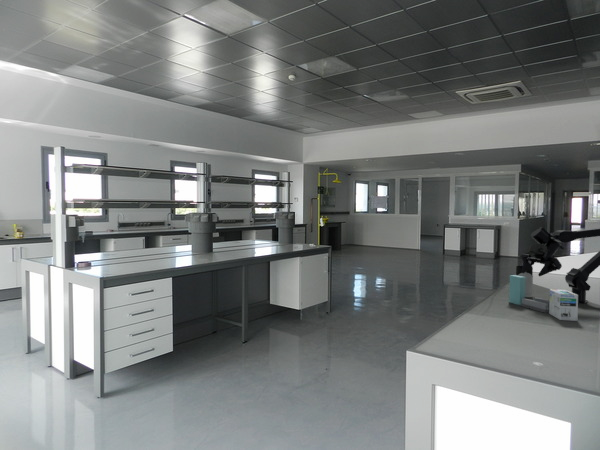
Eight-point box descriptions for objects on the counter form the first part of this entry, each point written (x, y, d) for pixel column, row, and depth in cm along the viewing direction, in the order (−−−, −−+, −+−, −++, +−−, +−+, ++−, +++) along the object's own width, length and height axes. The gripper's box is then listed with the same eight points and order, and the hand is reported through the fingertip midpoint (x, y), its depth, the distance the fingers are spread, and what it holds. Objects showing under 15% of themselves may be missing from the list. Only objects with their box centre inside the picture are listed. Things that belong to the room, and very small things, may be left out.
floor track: (521, 306, 181) (521, 298, 181) (536, 305, 184) (536, 297, 184) (545, 312, 170) (545, 304, 170) (560, 311, 172) (560, 302, 172)
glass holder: (515, 296, 203) (516, 267, 203) (511, 291, 216) (512, 264, 216) (534, 297, 200) (535, 268, 199) (530, 292, 213) (530, 264, 212)
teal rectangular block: (509, 302, 189) (509, 275, 189) (513, 301, 190) (514, 275, 190) (519, 305, 184) (520, 277, 183) (524, 304, 185) (525, 277, 184)
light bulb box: (578, 321, 157) (579, 294, 156) (559, 320, 158) (560, 293, 158) (565, 314, 167) (566, 289, 167) (548, 313, 168) (548, 288, 168)
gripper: (523, 238, 199) (505, 260, 196) (557, 240, 181) (539, 265, 178) (534, 253, 202) (517, 275, 199) (569, 257, 184) (551, 281, 181)
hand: (530, 274), depth 189 cm, fingers open, 9 cm apart
